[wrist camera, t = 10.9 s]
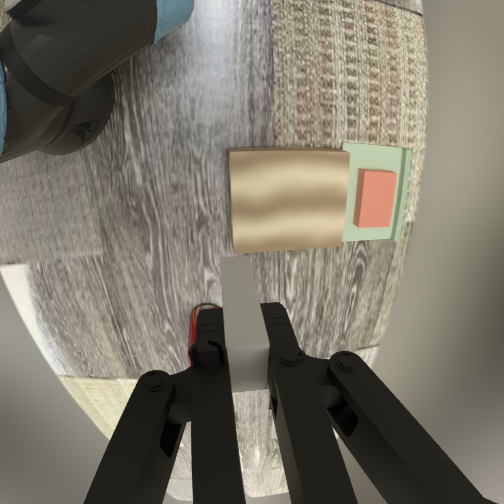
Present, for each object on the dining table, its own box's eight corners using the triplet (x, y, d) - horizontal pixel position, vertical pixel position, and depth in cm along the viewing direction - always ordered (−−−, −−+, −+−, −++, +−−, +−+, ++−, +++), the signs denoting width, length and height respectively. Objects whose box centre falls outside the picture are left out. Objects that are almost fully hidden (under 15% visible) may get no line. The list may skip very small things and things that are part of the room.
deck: (228, 148, 37) (229, 152, 34) (338, 148, 39) (350, 152, 35) (232, 241, 44) (233, 253, 40) (332, 235, 45) (341, 246, 42)
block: (397, 173, 39) (390, 170, 41) (364, 171, 39) (358, 168, 40) (389, 226, 43) (383, 222, 45) (358, 227, 43) (353, 223, 44)
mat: (341, 142, 39) (346, 143, 37) (405, 148, 40) (411, 150, 38) (334, 241, 46) (337, 245, 44) (393, 237, 47) (398, 241, 46)
